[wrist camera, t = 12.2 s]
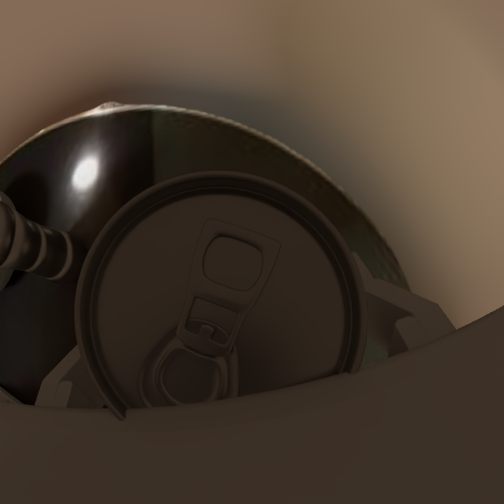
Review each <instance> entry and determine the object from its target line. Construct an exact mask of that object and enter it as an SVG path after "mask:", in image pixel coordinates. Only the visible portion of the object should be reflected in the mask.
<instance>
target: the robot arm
mask: <svg viewBox="0 0 504 504" xmlns="http://www.w3.org/2000/svg"><path fill="white" fill-rule="evenodd" d="M352 254H353V256H354V259H355V261H356V263H357V266H358V268H359V271H360V274H361V277H362V281H363V284H364V289H365V294H366V300H367V310H368V329H367V338H368V339H369V340H371V341H372V342H374V343H375V344H377V345H378V346H379V347H381V348H382V349H384V350H385V351H387V352H388V353H389V354H388V358H386V359H383V360H380V361H377V362H375V363H372V364H369V365H366V366H362V367H360V368H359V371H358V372H357V373H356V374H353V375H351V374H349V373H347V372H343V373H340V374H336V375H333V376H329V377H326V378H322V379H318V380H314V381H310V382H307V383H302V384H298V385H294V386H290V387H286V388H281V389H276V390H272V391H267V392H262V393H257V394H251V395H246V396H240V397H235V398H228V399H222V400H217V401H211V402H202V403H194V404H186V405H179V406H164V407H153V408H129V409H127V410H126V419H125V420H124V421H120V420H118V419H117V418H116V416H115V415H114V414H113V413H112V412H111V411H110V410H109V409H102V407H103V406H104V402H103V401H102V399H101V398H100V397H99V395H98V393H97V392H96V390H95V389H94V387H93V385H92V383H91V381H90V379H89V377H88V375H87V373H86V370H85V368H84V365H83V362H82V359H81V356H80V353H79V349H78V344H77V345H76V346H75V347H74V348H73V349H72V350H71V351H70V352H69V353H68V354H67V355H66V356H65V358H64V359H63V360H62V361H61V362H60V363H59V364H58V365H57V366H56V367H55V368H54V369H53V370H52V371H51V372H50V373H49V374H48V375H47V376H46V377H45V379H44V380H43V381H42V384H41V387H40V390H39V393H38V396H37V399H36V402H35V405H25V404H23V403H21V402H20V401H19V400H17V399H16V398H15V397H13V396H12V395H11V394H9V393H8V392H7V391H6V390H4V389H3V388H2V387H1V386H0V504H504V306H502V307H500V308H499V309H497V310H495V311H493V312H491V313H489V314H487V315H485V316H484V317H482V318H480V319H478V320H476V321H474V322H472V323H470V324H468V325H465V326H463V327H461V328H459V329H457V330H456V329H455V327H454V326H453V324H452V323H451V322H450V320H449V319H448V317H447V316H446V315H445V313H444V312H443V311H442V309H441V308H440V307H439V305H438V304H436V303H434V302H431V301H429V300H427V299H425V298H422V297H420V296H418V295H416V294H413V293H411V292H409V291H407V290H404V289H402V288H400V287H397V286H395V285H393V284H390V283H388V282H386V281H383V280H381V279H374V278H373V276H372V275H371V273H370V272H369V270H368V269H367V267H366V266H365V264H364V263H363V262H362V260H361V259H360V257H359V256H358V254H357V253H356V252H354V251H352Z"/></svg>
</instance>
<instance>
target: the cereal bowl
mask: <svg viewBox="0 0 504 504" xmlns="http://www.w3.org/2000/svg"><path fill="white" fill-rule="evenodd" d="M0 201H2V202H4V203H6V204H7V205H9V206H10V207H12V208H13V209H14V210H16V208H15V207H14V204H13V203H12V201H11V200H10V198H8V196H7V195H5V194H4V193H3V192H1V191H0ZM13 271H14V269H0V292H1V291H2V290H3V288H5V286H6V285H7V283H8V281H9V280H10V277H11V276H12V273H13Z"/></svg>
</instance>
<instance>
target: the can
mask: <svg viewBox="0 0 504 504" xmlns="http://www.w3.org/2000/svg"><path fill="white" fill-rule="evenodd" d="M74 321H75V333H76V339H77V344H78V349H79V353H80V356H81V359H82V362H83V365H84V368H85V370H86V373H87V375H88V377H89V379H90V381H91V383H92V385H93V387H94V389H95V390H96V392H97V393H98V395H99V397H100V398H101V399H102V401H103V402H104V404H105V405H106V406H107V407H108V409H109V410H110V411H111V412H112V413H113V414H114V415H115V416H116V418H117V419H118V420H120V421H124V420H125V419H126V410H127V409H129V408H153V407H164V406H179V405H186V404H194V403H202V402H211V401H217V400H222V399H228V398H235V397H240V396H246V395H251V394H257V393H262V392H267V391H272V390H276V389H281V388H286V387H290V386H294V385H298V384H302V383H307V382H310V381H314V380H318V379H322V378H326V377H329V376H333V375H336V374H340V373H343V372H347V373H349V374H351V375H353V374H356V373H357V372H358V371H359V368H360V365H361V362H362V358H363V355H364V350H365V345H366V339H367V329H368V310H367V300H366V294H365V289H364V284H363V281H362V277H361V274H360V271H359V268H358V266H357V263H356V261H355V259H354V256H353V254H352V252H351V250H350V248H349V247H348V245H347V243H346V242H345V240H344V239H343V237H342V236H341V234H340V233H339V231H338V230H337V229H336V227H335V226H334V225H333V224H332V223H331V221H330V220H329V219H328V218H327V217H326V216H325V215H324V214H323V213H322V212H321V211H320V210H319V209H318V208H316V207H315V206H314V205H313V204H312V203H310V202H309V201H308V200H306V199H305V198H304V197H302V196H301V195H299V194H298V193H296V192H294V191H293V190H291V189H289V188H287V187H285V186H283V185H281V184H279V183H277V182H274V181H272V180H269V179H266V178H263V177H260V176H256V175H252V174H248V173H243V172H236V171H201V172H194V173H189V174H184V175H180V176H177V177H174V178H171V179H168V180H165V181H163V182H160V183H158V184H156V185H154V186H152V187H150V188H148V189H146V190H145V191H143V192H141V193H140V194H138V195H137V196H135V197H134V198H133V199H131V200H130V201H129V202H127V203H126V204H125V205H124V206H123V207H122V208H120V209H119V210H118V211H117V212H116V213H115V214H114V215H113V216H112V218H111V219H110V220H109V221H108V222H107V223H106V225H105V226H104V227H103V228H102V230H101V231H100V233H99V234H98V236H97V237H96V239H95V240H94V242H93V244H92V246H91V248H90V250H89V252H88V254H87V256H86V258H85V261H84V263H83V266H82V269H81V272H80V276H79V279H78V284H77V289H76V296H75V307H74Z"/></svg>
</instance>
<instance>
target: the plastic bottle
mask: <svg viewBox="0 0 504 504" xmlns="http://www.w3.org/2000/svg"><path fill="white" fill-rule="evenodd" d="M85 258H86V252H85V248H84V245H83V243H82V241H81V240H80V239H79V238H78V237H76V236H75V235H74V234H72V233H71V232H69V231H65V230H59V229H52V228H49V227H45V226H42V225H39V224H37V223H35V222H33V221H31V220H29V219H28V218H26V217H24V216H23V215H21V214H20V213H18V212H17V211H16V210H14V209H13V208H12V207H10V206H9V205H7V204H6V203H4V202H2V201H0V269H14V270H20V271H27V272H31V273H34V274H37V275H40V276H43V277H45V278H47V279H48V280H50V281H53V282H55V283H59V284H62V283H70V282H73V281H75V280H76V279H77V278H78V277H79V276H80V272H81V269H82V266H83V263H84V261H85Z"/></svg>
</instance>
